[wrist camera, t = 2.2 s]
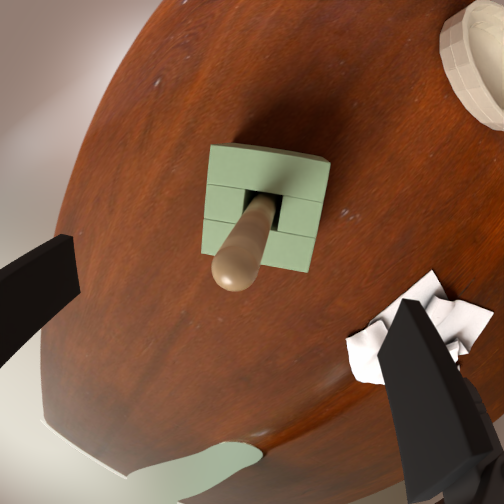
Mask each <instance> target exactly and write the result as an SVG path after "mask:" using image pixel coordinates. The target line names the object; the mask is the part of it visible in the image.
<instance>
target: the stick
mask: <svg viewBox="0 0 504 504" xmlns="http://www.w3.org/2000/svg"><path fill="white" fill-rule="evenodd" d="M278 200H279V194H274V193H268V192H262V191H258V193H257V194H256V195H255V197H254V198H253V200H252V201H251V203H250V204H249V206H248V207H247V209H246V210H245V212H244V213H243V214H242V216H241V217H240V219H239V220H238V222H237V223H236V225H235V226H234V228H233V229H232V231H231V232H230V234H229V235H228V237H227V238H226V240H225V241H224V243H223V244H222V246H221V247H220V249H219V250H218V252H217V253H216V255H215V256H214V258H213V261H212V275H213V277H214V279H215V281H216V282H217V284H218V285H219V286H221V287H222V288H224V289H226V290H229V291H241V290H244V289H246V288H248V287H249V286H250V285H251V284H252V283H253V282H254V281H255V279H256V277H257V274H258V271H259V267H260V264H261V260H262V257H263V253H264V250H265V246H266V243H267V239H268V236H269V232H270V229H271V225H272V221H273V218H274V214H275V211H276V207H277V204H278Z"/></svg>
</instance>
